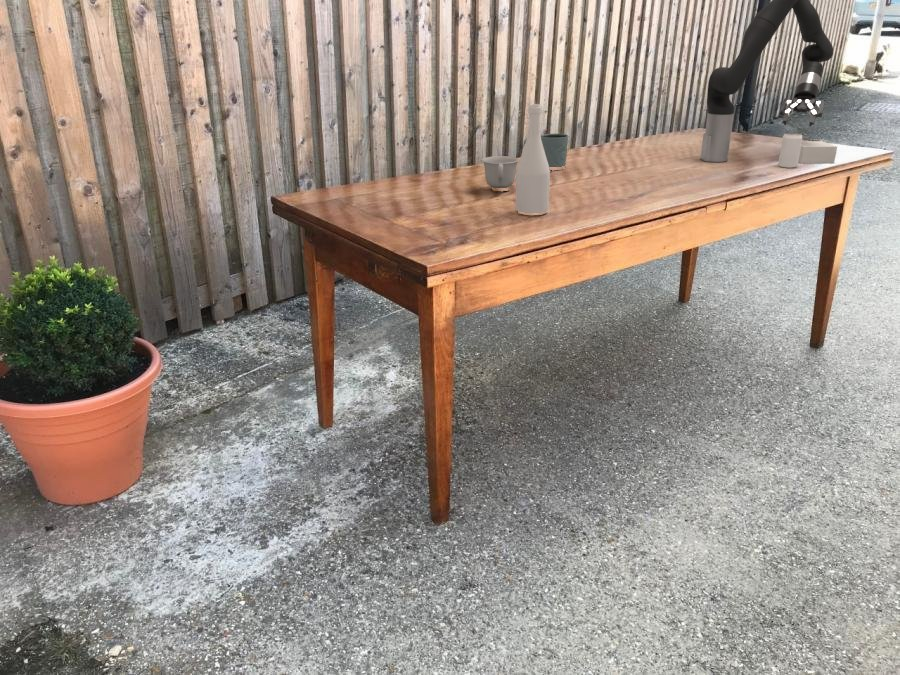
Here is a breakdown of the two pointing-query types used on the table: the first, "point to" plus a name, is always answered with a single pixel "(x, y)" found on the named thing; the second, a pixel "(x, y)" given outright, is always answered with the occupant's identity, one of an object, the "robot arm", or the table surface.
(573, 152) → the table surface
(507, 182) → the teacup
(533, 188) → the wine bottle
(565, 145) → the green cup
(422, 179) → the table surface
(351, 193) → the table surface
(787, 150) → the can
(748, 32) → the robot arm
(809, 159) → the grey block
